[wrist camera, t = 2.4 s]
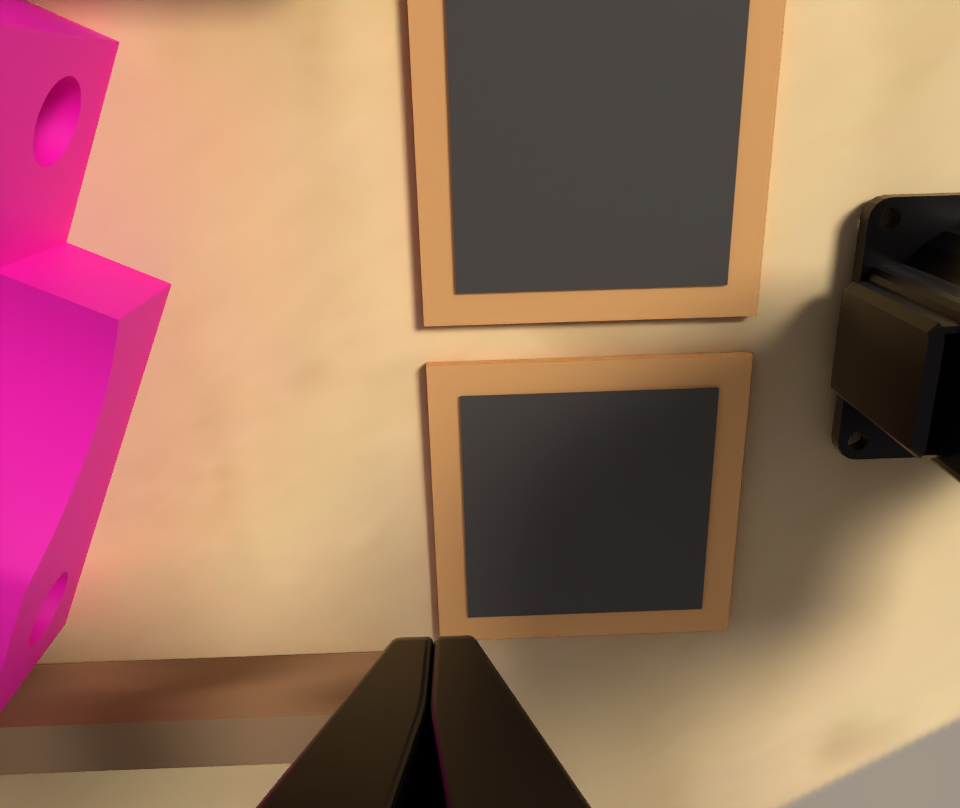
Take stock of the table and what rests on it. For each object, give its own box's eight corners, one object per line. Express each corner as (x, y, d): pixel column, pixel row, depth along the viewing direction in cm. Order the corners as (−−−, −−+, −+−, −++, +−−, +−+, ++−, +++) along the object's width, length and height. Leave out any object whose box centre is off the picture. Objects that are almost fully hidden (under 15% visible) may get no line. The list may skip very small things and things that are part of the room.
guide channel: (349, -160, 17) (332, -201, 14) (408, 694, 24) (403, 758, 22) (-308, -145, 17) (-435, -183, 14) (-46, 710, 24) (-101, 778, 22)
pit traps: (786, -58, 18) (793, -62, 17) (724, 624, 24) (728, 632, 23) (405, -49, 17) (404, -52, 17) (440, 634, 23) (440, 643, 23)
